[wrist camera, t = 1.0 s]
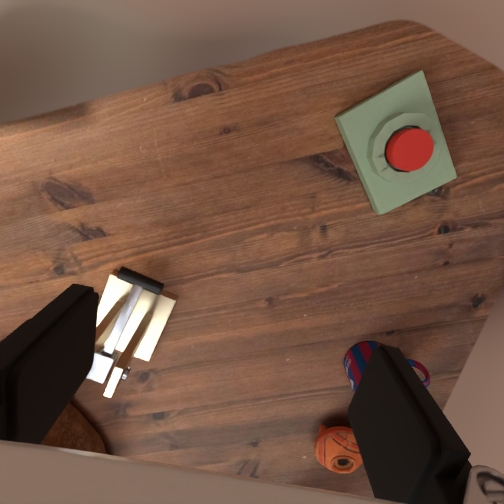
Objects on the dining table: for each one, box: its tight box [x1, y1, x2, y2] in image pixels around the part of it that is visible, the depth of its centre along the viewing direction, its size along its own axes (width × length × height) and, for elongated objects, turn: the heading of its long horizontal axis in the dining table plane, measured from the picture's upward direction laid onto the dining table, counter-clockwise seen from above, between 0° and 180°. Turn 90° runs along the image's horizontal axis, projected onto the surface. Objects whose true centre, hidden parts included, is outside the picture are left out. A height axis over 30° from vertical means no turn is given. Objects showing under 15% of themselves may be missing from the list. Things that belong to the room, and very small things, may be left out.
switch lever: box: [86, 267, 164, 384], centre depth 37 cm, size 12×5×2 cm, turn 154°
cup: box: [344, 342, 430, 394], centre depth 45 cm, size 7×10×7 cm
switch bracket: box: [94, 270, 178, 398], centre depth 40 cm, size 11×9×12 cm
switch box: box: [334, 70, 457, 215], centre depth 35 cm, size 12×9×4 cm
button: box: [386, 128, 434, 171], centre depth 33 cm, size 4×4×2 cm
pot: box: [314, 424, 363, 474], centre depth 50 cm, size 8×8×7 cm
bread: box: [40, 402, 107, 454], centre depth 48 cm, size 16×29×11 cm, turn 27°
